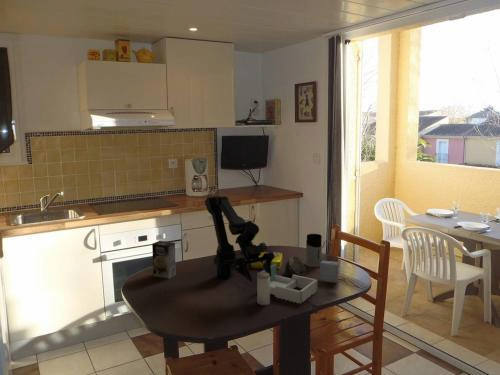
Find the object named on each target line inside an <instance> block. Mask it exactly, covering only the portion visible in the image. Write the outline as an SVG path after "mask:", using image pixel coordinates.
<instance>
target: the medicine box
mask: <svg viewBox="0 0 500 375" xmlns="http://www.w3.org/2000/svg"><path fill="white" fill-rule="evenodd" d="M339 265H340V264H339V261H330V260H329V261H328V260H322V261H321V263H320V266H319V281H320V282H326V283H335V284H338V281H339Z"/></svg>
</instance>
